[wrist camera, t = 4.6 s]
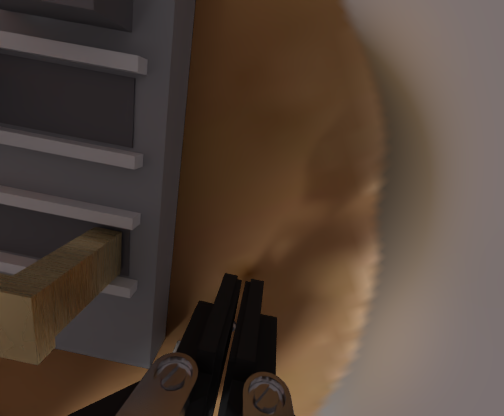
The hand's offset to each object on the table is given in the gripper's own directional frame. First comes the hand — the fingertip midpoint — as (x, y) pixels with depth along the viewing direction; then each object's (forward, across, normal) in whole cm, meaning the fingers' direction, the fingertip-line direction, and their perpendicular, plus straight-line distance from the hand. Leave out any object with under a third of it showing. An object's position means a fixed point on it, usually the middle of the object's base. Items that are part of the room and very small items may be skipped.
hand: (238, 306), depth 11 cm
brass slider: (+3, +7, 0) cm, 8 cm away
